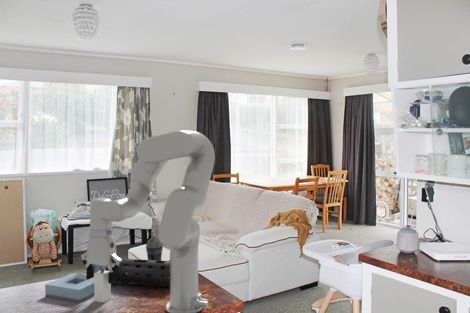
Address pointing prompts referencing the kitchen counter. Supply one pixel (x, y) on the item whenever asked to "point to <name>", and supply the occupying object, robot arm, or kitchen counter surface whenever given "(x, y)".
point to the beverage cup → (154, 248)
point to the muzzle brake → (143, 272)
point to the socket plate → (71, 288)
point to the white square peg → (102, 286)
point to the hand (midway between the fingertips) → (100, 280)
